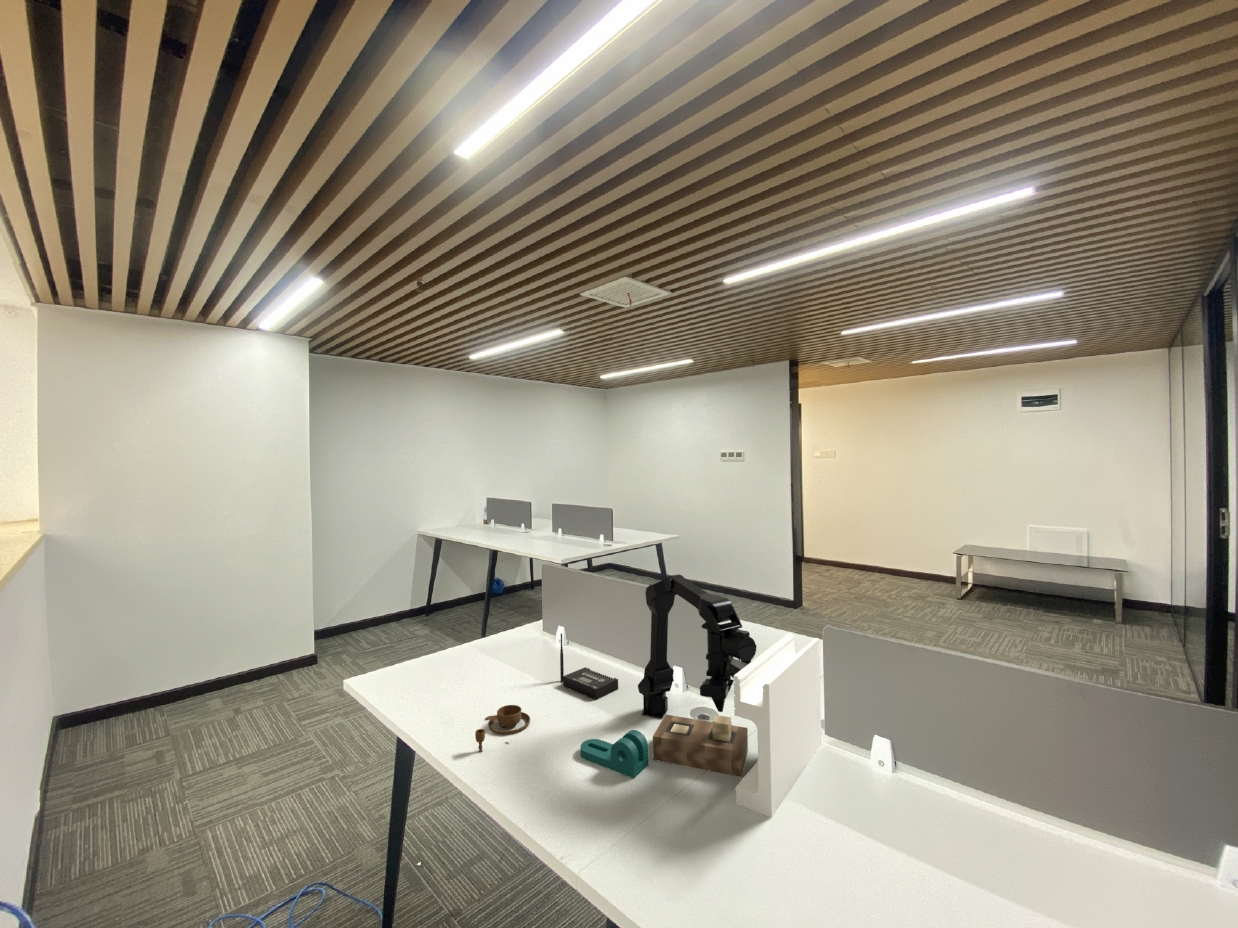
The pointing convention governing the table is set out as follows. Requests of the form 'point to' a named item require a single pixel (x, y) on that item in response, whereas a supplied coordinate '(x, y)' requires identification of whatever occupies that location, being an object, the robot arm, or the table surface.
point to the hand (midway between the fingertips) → (720, 711)
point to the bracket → (619, 753)
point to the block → (779, 720)
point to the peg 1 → (680, 729)
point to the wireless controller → (587, 681)
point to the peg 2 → (722, 728)
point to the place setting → (503, 722)
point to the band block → (700, 746)
